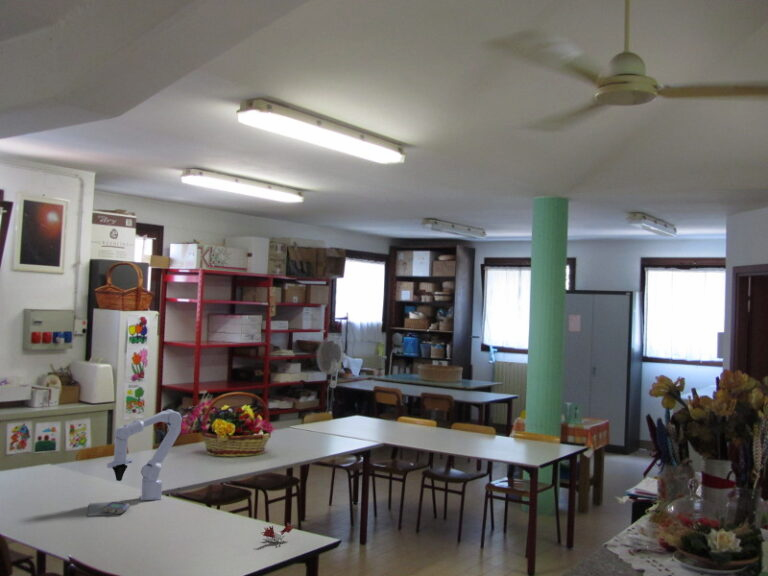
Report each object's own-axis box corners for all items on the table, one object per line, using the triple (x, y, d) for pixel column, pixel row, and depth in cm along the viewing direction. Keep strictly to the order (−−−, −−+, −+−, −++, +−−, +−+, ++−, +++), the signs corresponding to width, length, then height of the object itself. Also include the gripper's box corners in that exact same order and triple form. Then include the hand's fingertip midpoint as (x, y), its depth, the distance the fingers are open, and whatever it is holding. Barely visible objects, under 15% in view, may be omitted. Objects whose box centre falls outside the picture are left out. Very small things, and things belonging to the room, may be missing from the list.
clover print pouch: (130, 503, 334) (122, 509, 323) (129, 509, 334) (121, 516, 323) (110, 500, 334) (101, 507, 323) (109, 507, 333) (101, 514, 323)
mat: (116, 502, 344) (116, 501, 344) (116, 514, 325) (116, 513, 325) (89, 504, 340) (89, 503, 340) (88, 516, 321) (88, 515, 321)
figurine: (282, 533, 307) (283, 518, 307) (298, 541, 298) (298, 525, 298) (251, 540, 297) (252, 524, 297) (267, 548, 288) (268, 531, 288)
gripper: (115, 455, 338) (114, 484, 337) (137, 450, 351) (136, 478, 350) (104, 453, 340) (102, 482, 340) (126, 448, 354) (125, 476, 353)
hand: (118, 480), depth 345 cm, fingers closed
